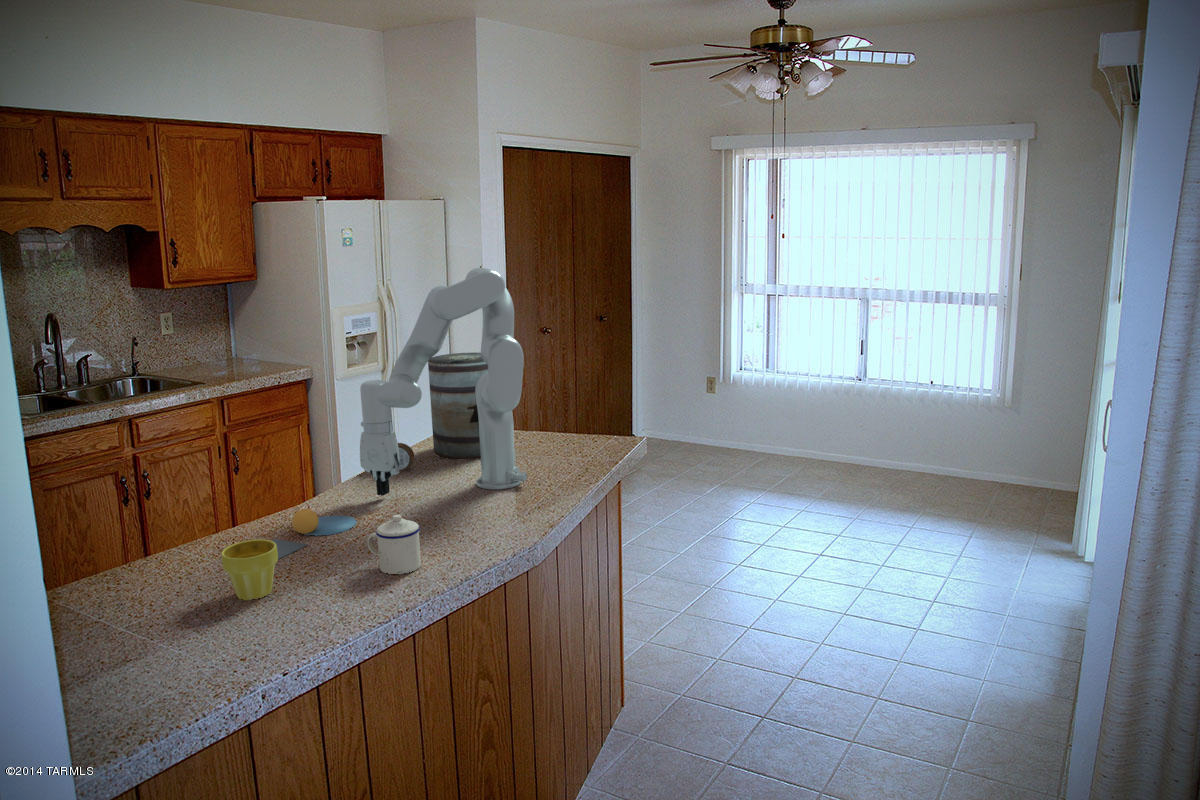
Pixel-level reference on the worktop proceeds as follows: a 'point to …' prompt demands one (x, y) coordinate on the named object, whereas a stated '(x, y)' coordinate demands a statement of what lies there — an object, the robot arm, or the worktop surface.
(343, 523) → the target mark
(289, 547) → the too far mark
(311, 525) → the ball
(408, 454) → the tin
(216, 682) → the worktop surface
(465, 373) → the barrel
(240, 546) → the plant pot
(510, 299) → the robot arm
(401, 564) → the teacup with lid
